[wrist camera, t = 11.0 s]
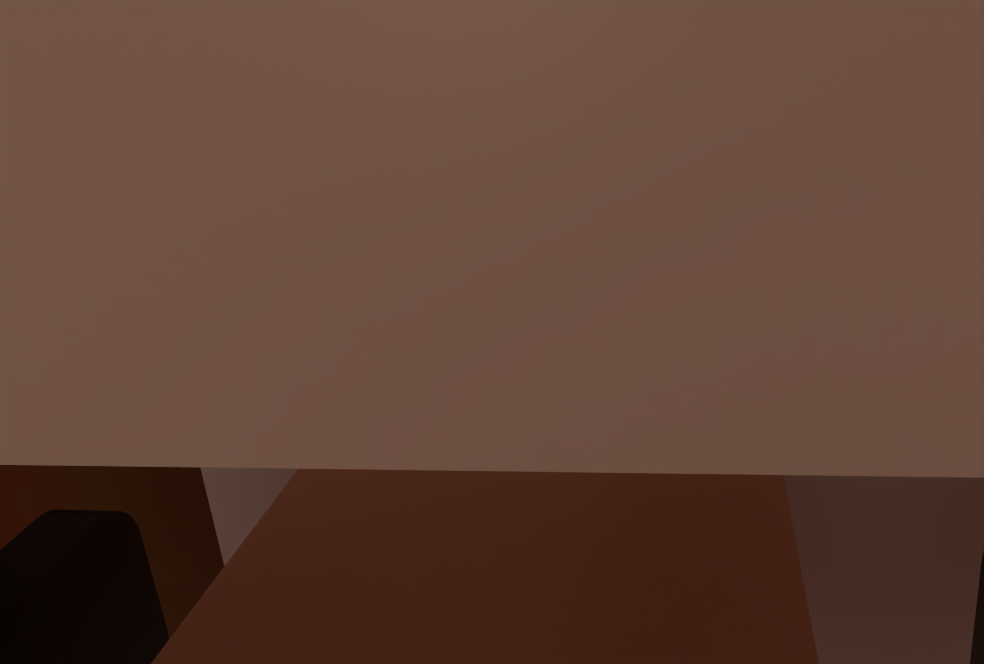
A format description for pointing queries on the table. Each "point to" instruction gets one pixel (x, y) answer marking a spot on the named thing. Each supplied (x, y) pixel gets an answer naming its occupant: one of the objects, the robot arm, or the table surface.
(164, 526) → the table surface
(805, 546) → the grey rubber mat
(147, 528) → the table surface
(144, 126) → the ivory domino
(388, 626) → the terracotta domino
